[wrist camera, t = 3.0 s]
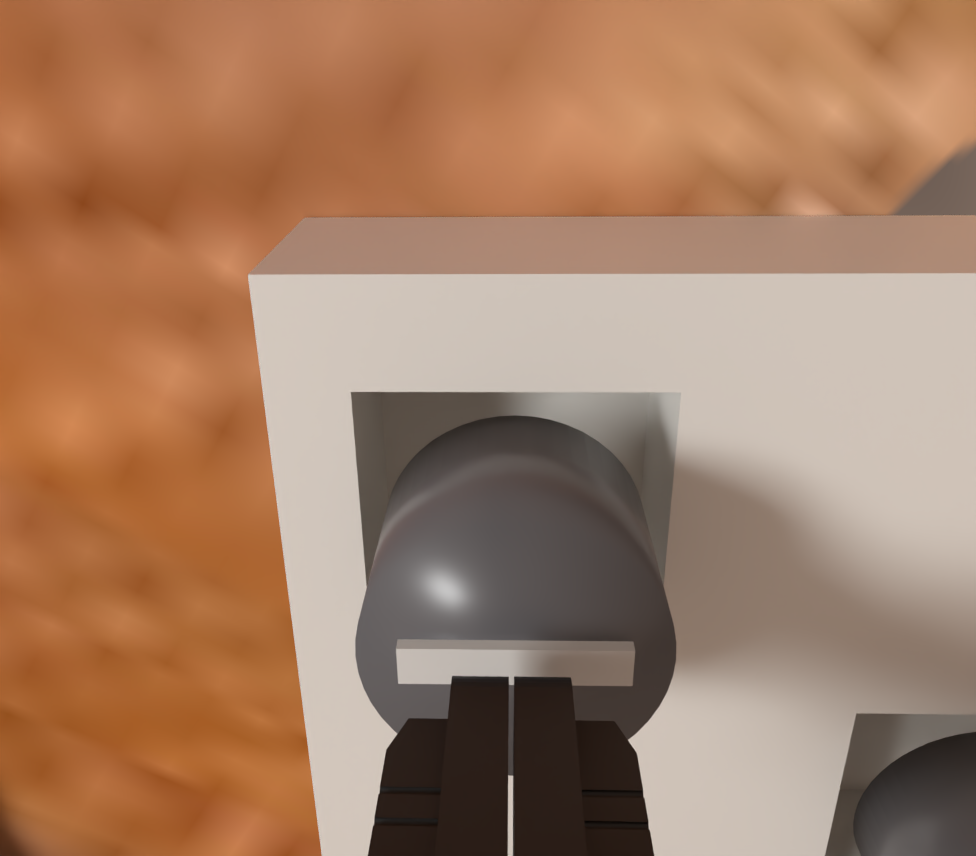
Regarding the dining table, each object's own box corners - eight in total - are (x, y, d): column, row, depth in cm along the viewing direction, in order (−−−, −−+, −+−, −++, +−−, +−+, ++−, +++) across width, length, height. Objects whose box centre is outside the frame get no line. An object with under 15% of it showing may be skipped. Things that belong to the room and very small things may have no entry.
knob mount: (304, 217, 17) (247, 274, 13) (1217, 214, 16) (1416, 272, 13) (376, 963, 26) (354, 1116, 23) (958, 974, 26) (1030, 1132, 22)
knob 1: (377, 414, 14) (339, 527, 11) (653, 415, 14) (693, 529, 11) (392, 636, 16) (364, 784, 13) (636, 638, 16) (665, 788, 13)
